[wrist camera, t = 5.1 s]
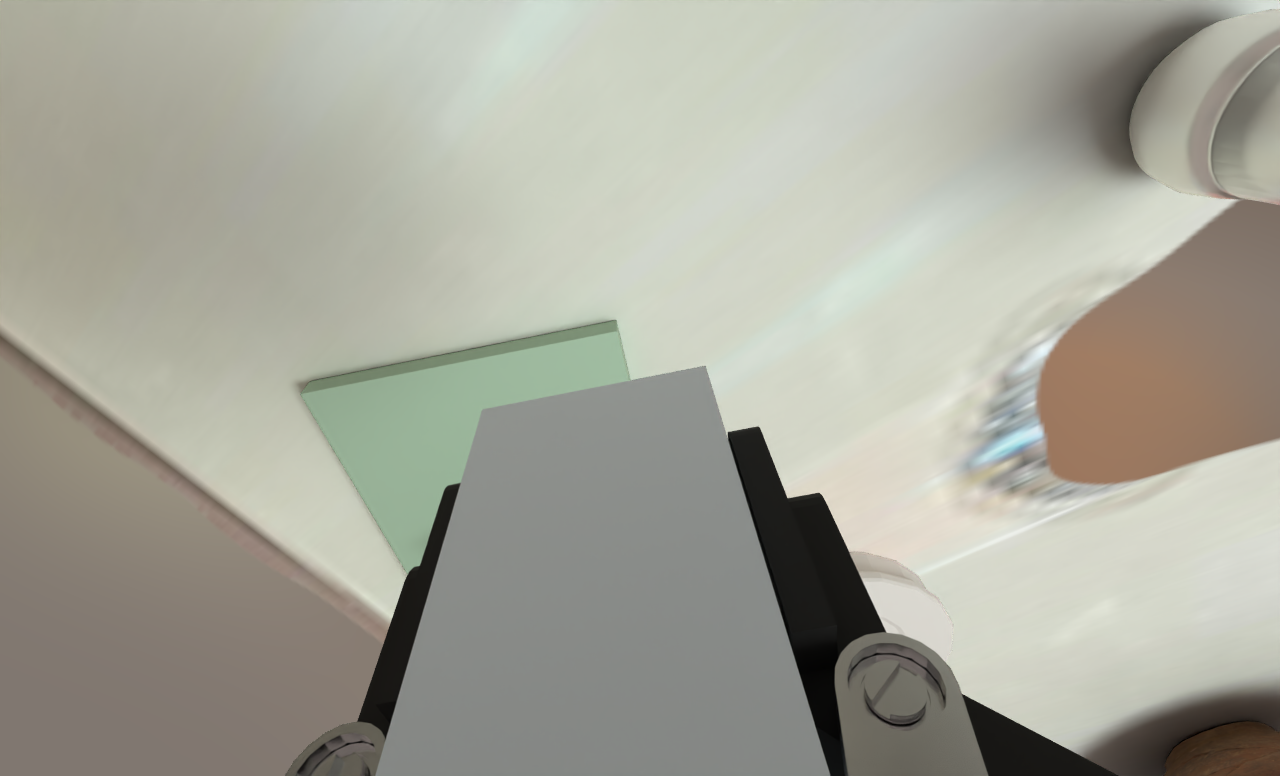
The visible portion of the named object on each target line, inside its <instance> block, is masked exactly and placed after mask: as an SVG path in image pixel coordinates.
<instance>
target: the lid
mask: <svg viewBox="0 0 1280 776" xmlns="http://www.w3.org/2000/svg"><path fill="white" fill-rule="evenodd" d="M849 553H850V555H851V557H852V559H853V562H854V564H855V566H856V568H857V570H858V572H859V574H860V577H861V579H862V581H863V583H864V585H865V587H866V589H867V592H868V594H869V596H870V598H871V600H872V602H873V604H874V607H875V609H876V611H877V613H878V615H879V617H880V619H881V622H882V624H883V626H884V628H885V630H886V632H887V633H894V634H902V635H904V636H907V637H910V638H912V639H915V640H917V641H920V642H922V643H923V644H925V645H926V646H927V647H929V648H930V649H932V650H933V651H935V652H936V653H937V654H938V655H939V656H940V657H941V658H942V659H943V660H944V661H945V662H946V661H947V659H948V657H949V655H950V653H951V652H952V644H953V623H952V621H951V619H950V618H949V616H948V614H947V612H946V610H945V609H944V607H943V605H942V603H941V601H940V600H939V598H938V597H937V596H935V595H934V594H932V593H931V592H929V591H928V590H926V588H925V586H924V585H923V583H922V581H921V579H920V577H919V576H918V575H917V574H915V573H914V572H912V571H911V570H909V569H908V568H906V567H905V566H903V565H902V564H900V563H899V562H897V561H896V560H892V559H888V558H884V557H880V556H877V555H873V554H869V553H865V552H849Z"/></svg>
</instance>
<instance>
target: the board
mask: <svg viewBox="0 0 1280 776" xmlns="http://www.w3.org/2000/svg"><path fill="white" fill-rule="evenodd" d="M625 381H630V376H629V372H628V368H627V363H626V359H625V355H624V351H623V347H622V342H621V338H620V334H619V330H618V325H617V321H616V320H615V321H610V322H605V323H600V324H595V325H590V326H585V327H580V328H575V329H570V330H565V331H560V332H555V333H550V334H545V335H540V336H535V337H530V338H525V339H520V340H515V341H510V342H505V343H500V344H495V345H490V346H485V347H480V348H475V349H470V350H465V351H460V352H455V353H450V354H445V355H440V356H435V357H430V358H425V359H420V360H415V361H410V362H405V363H400V364H395V365H390V366H385V367H380V368H375V369H370V370H365V371H360V372H355V373H350V374H345V375H340V376H335V377H330V378H325V379H320V380H315V381H310V382H309V383H308V385H307V386H306V387H305V389H304V390H303V391H302V392H301V394H300V395H301V396H302V398H303V400H304V401H305V403H306V405H307V406H308V408H309V410H310V411H311V413H312V415H313V416H314V418H315V420H316V421H317V423H318V425H319V427H320V428H321V430H322V432H323V433H324V435H325V437H326V438H327V440H328V442H329V443H330V445H331V447H332V448H333V450H334V452H335V453H336V455H337V457H338V458H339V460H340V462H341V463H342V465H343V467H344V468H345V470H346V472H347V473H348V475H349V477H350V479H351V480H352V482H353V484H354V485H355V487H356V489H357V490H358V492H359V494H360V495H361V497H362V499H363V500H364V502H365V504H366V505H367V507H368V509H369V510H370V512H371V514H372V515H373V517H374V519H375V520H376V522H377V524H378V526H379V527H380V529H381V531H382V532H383V534H384V536H385V537H386V539H387V541H388V542H389V544H390V546H391V547H392V549H393V551H394V552H395V554H396V556H397V557H398V559H399V561H400V562H401V564H402V566H403V567H404V569H405V571H406V572H407V574H408V573H409V571H410V570H411V569H412V568H413V567H416V566H420V564H421V561H422V557H423V554H424V551H425V548H426V545H427V542H428V539H429V536H430V532H431V529H432V526H433V523H434V520H435V517H436V514H437V511H438V508H439V504H440V501H441V498H442V495H443V492H444V490H445V488H446V487H447V486H448V485H452V484H457V483H461V480H462V477H463V473H464V470H465V467H466V463H467V460H468V456H469V453H470V450H471V446H472V443H473V439H474V436H475V432H476V429H477V426H478V422H479V419H480V415H481V412H482V409H487V408H492V407H497V406H502V405H508V404H513V403H518V402H523V401H528V400H533V399H538V398H543V397H548V396H554V395H559V394H564V393H569V392H574V391H579V390H584V389H589V388H594V387H600V386H605V385H610V384H615V383H620V382H625Z"/></svg>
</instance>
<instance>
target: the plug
mask: <svg viewBox="0 0 1280 776" xmlns="http://www.w3.org/2000/svg"><path fill="white" fill-rule="evenodd" d="M375 776H830V773H829V770H828V766H827V763H826V760H825V757H824V753H823V750H822V747H821V743H820V740H819V737H818V734H817V730H816V727H815V724H814V720H813V717H812V714H811V711H810V707H809V704H808V701H807V697H806V694H805V691H804V688H803V684H802V681H801V678H800V674H799V671H798V668H797V665H796V661H795V658H794V655H793V651H792V648H791V645H790V642H789V638H788V635H787V632H786V629H785V625H784V622H783V619H782V615H781V612H780V609H779V606H778V602H777V599H776V596H775V592H774V589H773V586H772V583H771V579H770V576H769V573H768V569H767V566H766V563H765V560H764V556H763V553H762V550H761V546H760V543H759V540H758V537H757V533H756V530H755V527H754V523H753V520H752V517H751V514H750V510H749V507H748V504H747V501H746V497H745V494H744V491H743V487H742V484H741V481H740V478H739V474H738V471H737V468H736V464H735V461H734V458H733V455H732V451H731V448H730V445H729V441H728V438H727V435H726V432H725V428H724V425H723V422H722V418H721V415H720V412H719V409H718V405H717V402H716V399H715V395H714V392H713V389H712V386H711V382H710V379H709V376H708V373H707V369H706V366H702V367H697V368H692V369H686V370H681V371H676V372H671V373H666V374H661V375H656V376H651V377H646V378H640V379H635V380H630V381H625V382H620V383H615V384H610V385H605V386H600V387H594V388H589V389H584V390H579V391H574V392H569V393H564V394H559V395H554V396H548V397H543V398H538V399H533V400H528V401H523V402H518V403H513V404H508V405H502V406H497V407H492V408H487V409H482V412H481V415H480V419H479V422H478V426H477V429H476V432H475V436H474V439H473V443H472V446H471V450H470V453H469V456H468V460H467V463H466V467H465V470H464V473H463V477H462V480H461V484H460V487H459V491H458V494H457V497H456V501H455V504H454V508H453V511H452V515H451V518H450V521H449V525H448V528H447V532H446V535H445V539H444V542H443V545H442V549H441V552H440V556H439V559H438V563H437V566H436V569H435V573H434V576H433V580H432V583H431V587H430V590H429V593H428V597H427V600H426V604H425V607H424V610H423V614H422V617H421V621H420V624H419V628H418V631H417V634H416V638H415V641H414V645H413V648H412V652H411V655H410V658H409V662H408V665H407V669H406V672H405V676H404V679H403V682H402V686H401V689H400V693H399V696H398V700H397V703H396V706H395V710H394V713H393V717H392V720H391V724H390V727H389V730H388V734H387V737H386V741H385V744H384V747H383V751H382V754H381V758H380V761H379V765H378V768H377V771H376V775H375Z"/></svg>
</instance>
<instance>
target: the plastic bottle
mask: <svg viewBox="0 0 1280 776" xmlns="http://www.w3.org/2000/svg"><path fill="white" fill-rule="evenodd" d="M1129 134H1130V141H1131V146H1132V150H1133V154H1134V158H1135V160H1136V162H1137V163H1138V165H1139V167H1140V168H1141V169H1142V170H1143V171H1144V172H1145V173H1146V174H1147V175H1148V176H1150V177H1152V178H1153V179H1155V180H1157V181H1159V182H1160V183H1162V184H1164V185H1165V186H1167V187H1169V188H1171V189H1173V190H1175V191H1177V192H1179V193H1185V194H1190V195H1197V196H1204V197H1212V198H1219V199H1238V200H1241V199H1250V200H1256V201H1261V202H1267V203H1272V204H1278V205H1280V9H1271V10H1266V11H1261V12H1256V13H1251V14H1246V15H1241V16H1236V17H1232V18H1228V19H1225V20H1221V21H1218V22H1216V23H1214V24H1212V25H1210V26H1208V27H1206V28H1204V29H1202V30H1201V31H1199V32H1198V33H1196V34H1195V35H1193V36H1191V37H1190V38H1188V39H1187V40H1186V41H1185V42H1183V43H1182V44H1181V45H1179V46H1178V47H1177V48H1176V49H1174V50H1173V51H1172V52H1171V53H1170V54H1169V55H1168V56H1166V57H1165V58H1164V59H1163V60H1162V61H1161V63H1160V64H1159V65H1158V66H1157V67H1156V68H1155V69H1154V70H1153V72H1152V73H1151V75H1150V76H1149V77H1148V79H1147V80H1146V82H1145V83H1144V85H1143V87H1142V89H1141V91H1140V92H1139V94H1138V96H1137V98H1136V101H1135V104H1134V107H1133V110H1132V113H1131V119H1130V124H1129Z"/></svg>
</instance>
